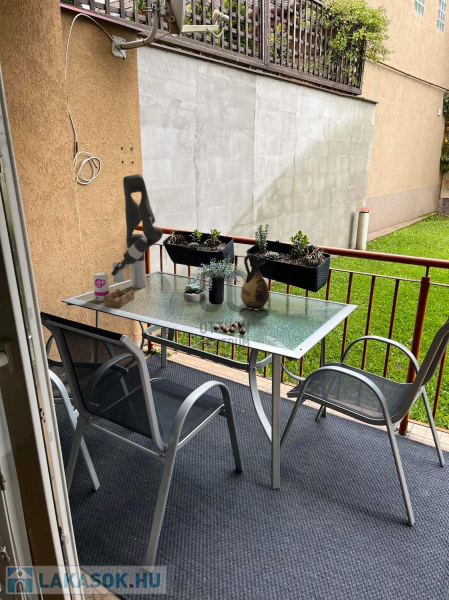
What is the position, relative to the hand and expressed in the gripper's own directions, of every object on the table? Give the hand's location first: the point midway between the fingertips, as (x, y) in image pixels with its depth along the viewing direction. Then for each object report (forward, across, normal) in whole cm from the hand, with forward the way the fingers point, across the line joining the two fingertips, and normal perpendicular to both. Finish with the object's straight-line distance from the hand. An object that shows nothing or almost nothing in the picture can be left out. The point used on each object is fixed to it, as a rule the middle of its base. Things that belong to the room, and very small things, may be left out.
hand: (115, 273), depth 245 cm
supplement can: (+19, -2, +4) cm, 20 cm away
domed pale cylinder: (+2, 0, +4) cm, 5 cm away
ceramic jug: (-41, -12, +66) cm, 79 cm away
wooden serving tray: (+11, 0, +13) cm, 17 cm away
